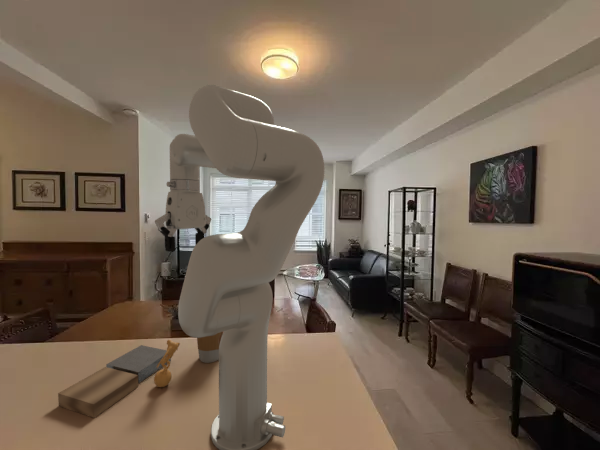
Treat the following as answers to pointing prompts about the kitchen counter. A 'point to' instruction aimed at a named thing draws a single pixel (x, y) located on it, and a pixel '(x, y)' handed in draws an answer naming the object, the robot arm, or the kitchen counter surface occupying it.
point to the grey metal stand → (139, 361)
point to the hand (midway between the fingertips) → (185, 249)
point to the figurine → (165, 375)
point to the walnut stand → (98, 391)
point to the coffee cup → (209, 347)
